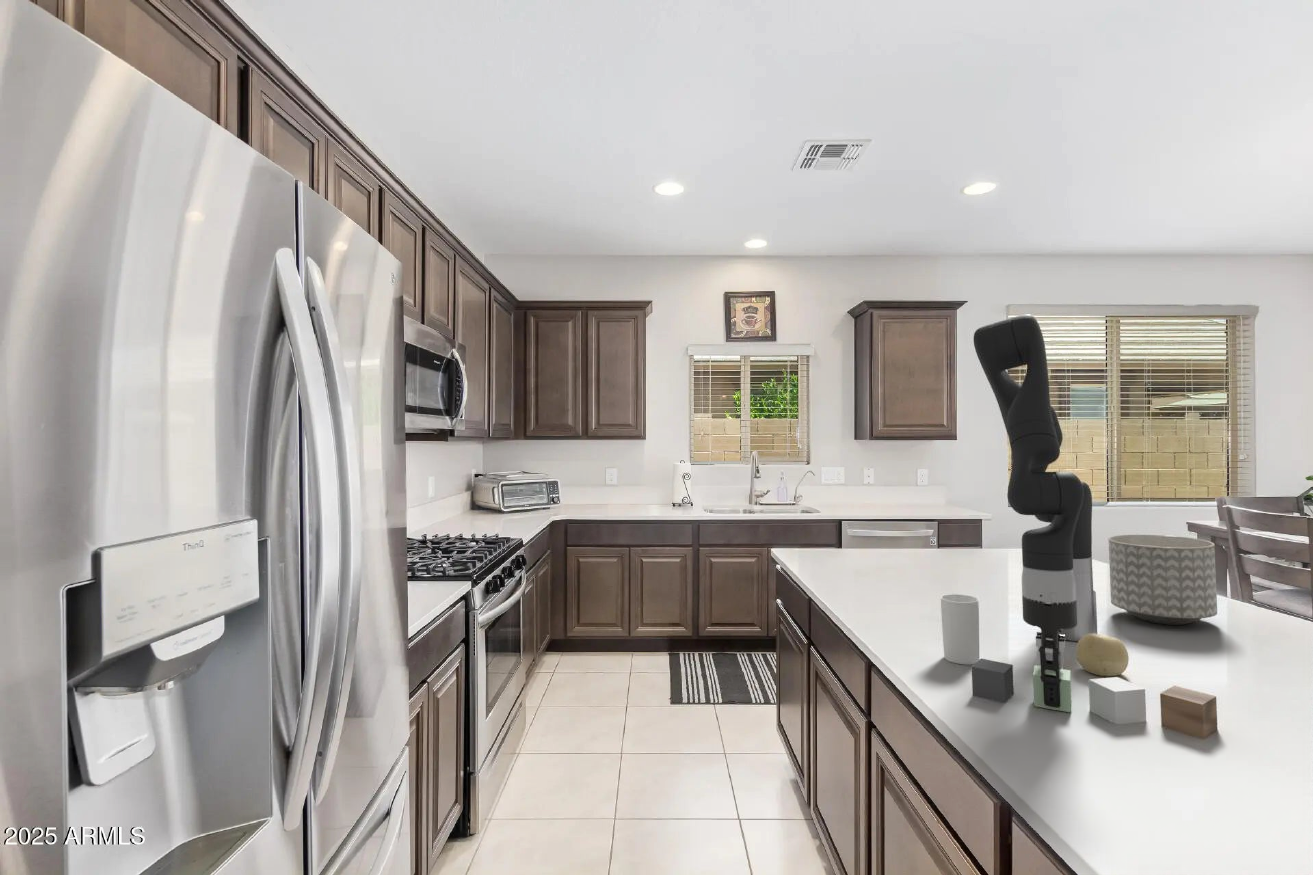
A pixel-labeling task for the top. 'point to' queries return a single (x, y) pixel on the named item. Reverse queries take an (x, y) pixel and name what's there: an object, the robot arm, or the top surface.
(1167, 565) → the planter
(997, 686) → the charcoal block
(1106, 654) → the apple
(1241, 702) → the top surface
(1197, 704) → the walnut block
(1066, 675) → the sage block
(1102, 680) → the grey block
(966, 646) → the mug
